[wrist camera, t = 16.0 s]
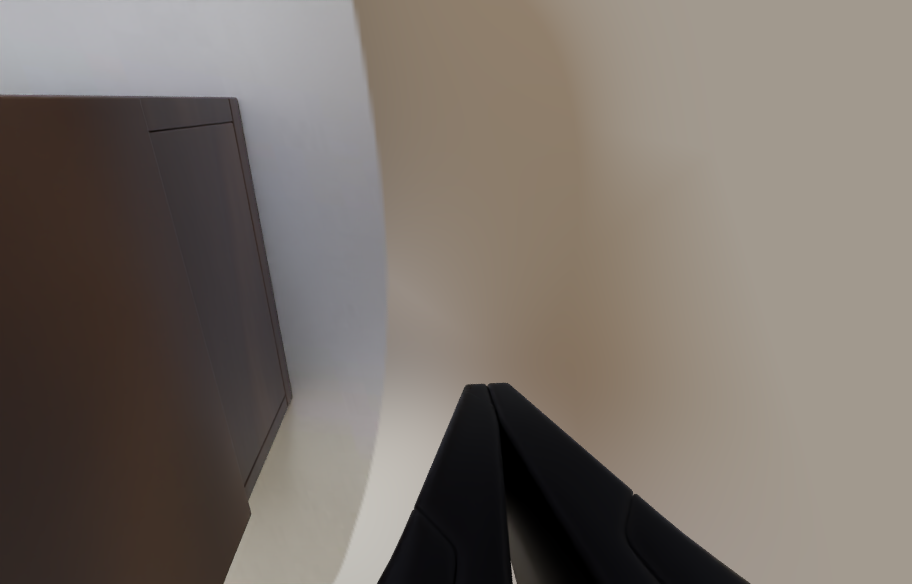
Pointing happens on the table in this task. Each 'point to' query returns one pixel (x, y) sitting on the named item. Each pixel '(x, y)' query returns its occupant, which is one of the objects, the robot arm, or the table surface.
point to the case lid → (103, 362)
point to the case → (224, 264)
